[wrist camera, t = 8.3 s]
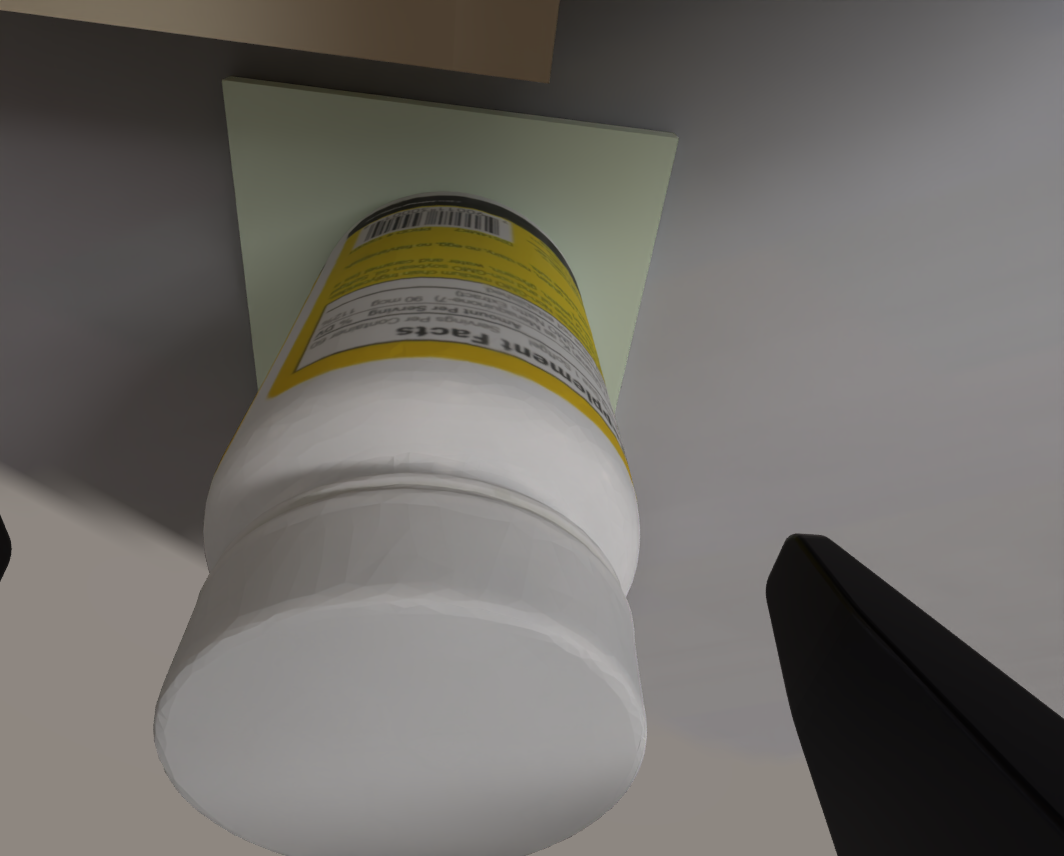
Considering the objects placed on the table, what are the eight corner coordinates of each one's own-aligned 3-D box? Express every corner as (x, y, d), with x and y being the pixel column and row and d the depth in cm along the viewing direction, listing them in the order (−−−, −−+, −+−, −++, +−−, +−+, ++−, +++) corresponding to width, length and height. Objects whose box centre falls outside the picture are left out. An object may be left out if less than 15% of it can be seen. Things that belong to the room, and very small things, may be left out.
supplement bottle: (457, 463, 14) (425, 935, 7) (265, 318, 12) (-29, 785, 5) (636, 317, 13) (808, 756, 6) (446, 117, 11) (355, 431, 4)
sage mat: (673, 133, 11) (678, 137, 11) (596, 467, 15) (599, 478, 15) (230, 75, 10) (222, 79, 10) (270, 444, 14) (265, 456, 14)
